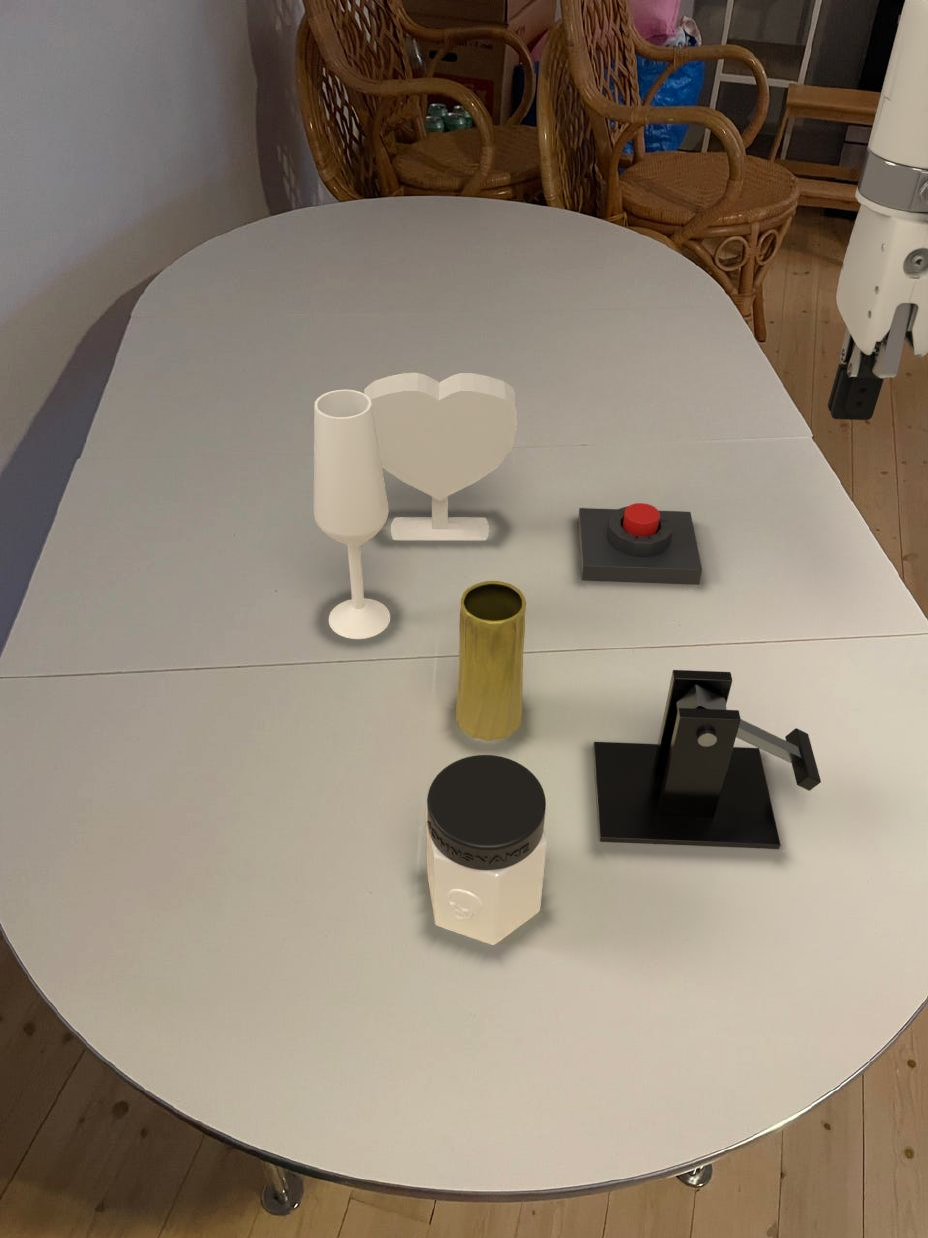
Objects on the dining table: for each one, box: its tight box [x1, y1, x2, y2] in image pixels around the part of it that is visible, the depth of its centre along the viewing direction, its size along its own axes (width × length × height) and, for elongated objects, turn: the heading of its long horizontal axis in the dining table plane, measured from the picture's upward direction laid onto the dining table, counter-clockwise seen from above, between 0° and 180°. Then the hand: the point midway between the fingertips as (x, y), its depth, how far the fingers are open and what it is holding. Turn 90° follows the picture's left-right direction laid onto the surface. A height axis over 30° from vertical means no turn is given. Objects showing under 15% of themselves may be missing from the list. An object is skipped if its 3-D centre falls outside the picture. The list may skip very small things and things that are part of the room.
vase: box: [455, 580, 527, 742], centre depth 87 cm, size 6×6×14 cm
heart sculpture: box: [363, 372, 519, 541], centre depth 107 cm, size 16×5×18 cm, turn 91°
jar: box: [425, 754, 548, 946], centre depth 75 cm, size 9×8×12 cm
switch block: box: [577, 505, 703, 586], centre depth 109 cm, size 12×10×4 cm
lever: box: [676, 685, 822, 791], centre depth 80 cm, size 12×5×2 cm
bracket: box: [592, 669, 782, 850], centre depth 82 cm, size 14×10×13 cm
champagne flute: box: [313, 389, 391, 640], centre depth 94 cm, size 7×7×24 cm
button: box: [623, 502, 660, 536], centre depth 107 cm, size 4×4×2 cm
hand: (848, 413), depth 84 cm, fingers closed
